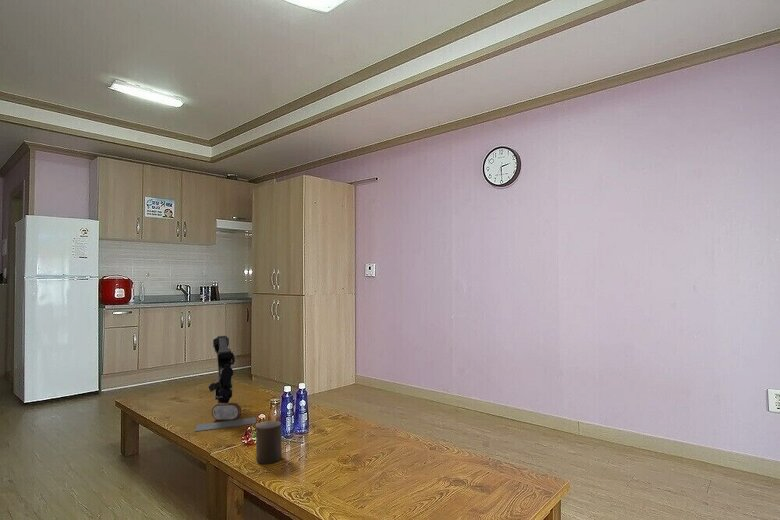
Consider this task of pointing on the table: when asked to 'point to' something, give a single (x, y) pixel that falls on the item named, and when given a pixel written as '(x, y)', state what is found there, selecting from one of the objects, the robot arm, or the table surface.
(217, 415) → the tin
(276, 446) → the pillar candle
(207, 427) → the mat
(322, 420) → the table surface
